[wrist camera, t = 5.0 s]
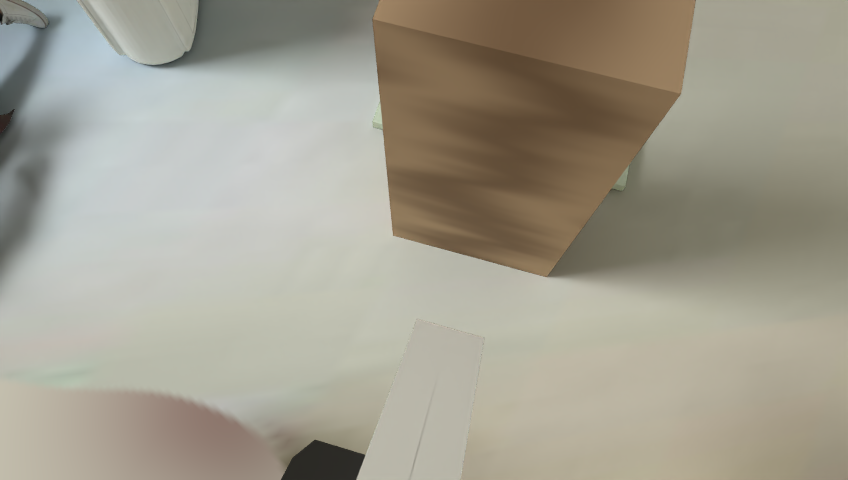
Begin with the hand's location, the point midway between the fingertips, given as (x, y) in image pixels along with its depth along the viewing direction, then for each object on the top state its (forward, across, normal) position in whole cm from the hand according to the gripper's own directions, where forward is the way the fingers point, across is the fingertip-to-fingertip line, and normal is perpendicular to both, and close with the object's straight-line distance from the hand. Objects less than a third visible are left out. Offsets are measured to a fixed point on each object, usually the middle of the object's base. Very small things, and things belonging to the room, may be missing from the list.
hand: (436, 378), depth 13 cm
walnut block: (+15, 0, -2) cm, 15 cm away
